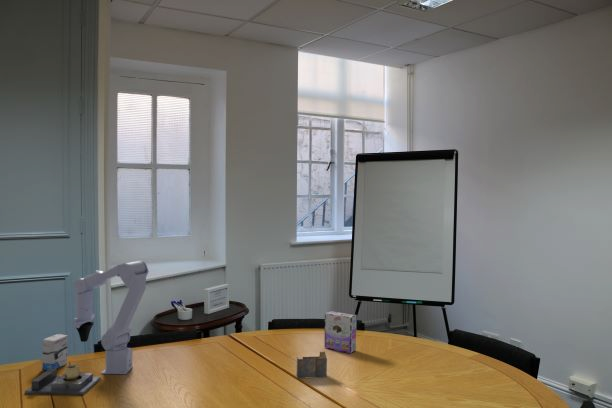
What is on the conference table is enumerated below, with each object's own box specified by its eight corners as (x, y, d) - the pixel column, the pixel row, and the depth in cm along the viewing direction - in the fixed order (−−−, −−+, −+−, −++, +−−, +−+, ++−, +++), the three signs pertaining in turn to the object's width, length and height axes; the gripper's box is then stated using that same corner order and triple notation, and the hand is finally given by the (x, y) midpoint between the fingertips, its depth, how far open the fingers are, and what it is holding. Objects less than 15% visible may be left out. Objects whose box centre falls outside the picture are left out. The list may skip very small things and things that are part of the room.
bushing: (81, 381, 173) (81, 364, 173) (74, 386, 168) (74, 369, 168) (69, 381, 173) (69, 364, 173) (62, 385, 169) (62, 368, 169)
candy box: (356, 350, 217) (357, 314, 217) (350, 354, 212) (351, 317, 212) (330, 345, 225) (330, 310, 224) (323, 348, 220) (324, 312, 219)
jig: (100, 379, 178) (100, 368, 178) (83, 395, 164) (83, 383, 164) (46, 378, 178) (46, 367, 178) (24, 394, 164) (24, 382, 164)
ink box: (52, 371, 185) (53, 340, 185) (41, 369, 186) (42, 339, 186) (68, 363, 193) (68, 334, 193) (57, 362, 194) (57, 333, 194)
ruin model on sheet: (325, 375, 188) (325, 350, 188) (326, 378, 185) (327, 353, 185) (296, 376, 186) (296, 351, 186) (297, 379, 183) (297, 354, 183)
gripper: (82, 303, 200) (82, 335, 200) (65, 311, 185) (65, 346, 185) (99, 303, 200) (99, 336, 200) (84, 312, 185) (83, 347, 185)
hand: (84, 341), depth 193 cm, fingers closed
